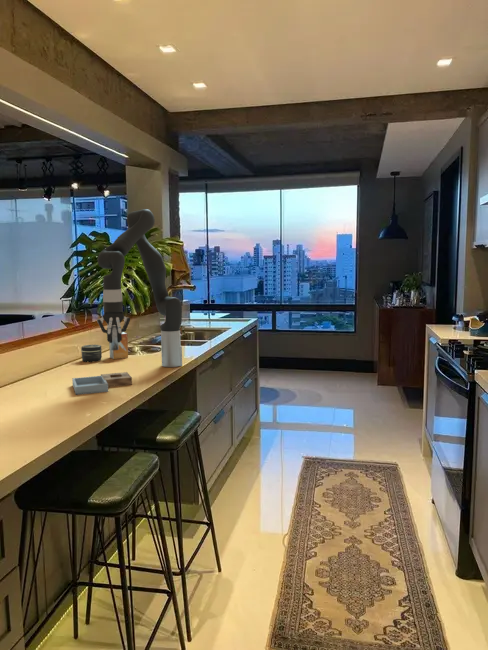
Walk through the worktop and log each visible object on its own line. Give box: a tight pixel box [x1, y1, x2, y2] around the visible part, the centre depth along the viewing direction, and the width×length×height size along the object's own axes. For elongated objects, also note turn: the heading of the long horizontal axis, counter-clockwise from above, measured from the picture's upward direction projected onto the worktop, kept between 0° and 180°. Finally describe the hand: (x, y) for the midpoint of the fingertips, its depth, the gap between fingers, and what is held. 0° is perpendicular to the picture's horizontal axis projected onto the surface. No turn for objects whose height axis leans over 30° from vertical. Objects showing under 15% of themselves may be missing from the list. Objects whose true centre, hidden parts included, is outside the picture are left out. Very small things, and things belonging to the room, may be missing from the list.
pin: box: [110, 325, 119, 350], centre depth 206 cm, size 3×3×10 cm
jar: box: [80, 344, 103, 363], centre depth 257 cm, size 10×10×8 cm
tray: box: [72, 375, 109, 396], centre depth 199 cm, size 12×16×3 cm
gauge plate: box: [100, 371, 133, 388], centre depth 208 cm, size 11×11×3 cm
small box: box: [108, 332, 129, 360], centre depth 264 cm, size 8×6×13 cm
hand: (114, 342), depth 206 cm, fingers closed on pin, 3 cm apart
